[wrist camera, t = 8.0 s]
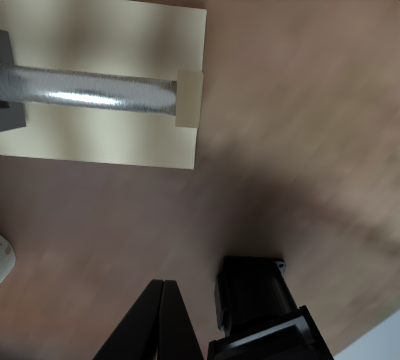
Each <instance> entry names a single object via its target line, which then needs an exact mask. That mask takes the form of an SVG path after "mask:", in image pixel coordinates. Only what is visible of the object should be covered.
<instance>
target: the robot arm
mask: <svg viewBox="0 0 400 360" xmlns="http://www.w3.org/2000/svg"><path fill="white" fill-rule="evenodd" d="M227 261H229V262H227ZM279 264H281V265H279ZM285 267H286V263H285V262H284V260H283V259H270V258H251V257H231V256H227V257H224V258H223V261H222V267H221V274H219V275H218V276H217V279H216V285H215V292H214V295H215V305H216V315H217V324H218V329H219V330H220V331H224V332H225V338H222V339H219V340H217V341H216V340H213V341H211V342H209V348H208V356H207V360H334V359H333V357H332V355H331V353H330V351H329V349H328V347H327V345H326V343H325V341H324V340H323V338H322V336H321V334H320V332H319V330H318V328H317V326H316V324H315V322H314V320H313V319H312V317H311V315H310V313H309V311H308V309H307V307H306V305H304V306H301V307H299V308H300V309H298V308H297V306H296V304H295V301H294V299H293V297H292V295H291V293H290V291H289V289H288V287H287V285H286V283H285V281H284V279H283V274H284V271H285ZM156 354H157V360H204V358H203V355H202V352H201V349H200V347H199V344H198V341H197V338H196V335H195V333H194V330H193V327H192V324H191V321H190V318H189V316H188V313H187V310H186V307H185V304H184V302H183V299H182V296H181V293H180V290H179V288H178V285H177V282H176V281H175V280H165V281H163V280H155V279H153V280H151V282H150V283H149V284H148V286H147V287H146V288H145V290H144V291H143V292H142V294H141V295H140V296H139V298H138V299H137V300H136V302H135V303H134V304H133V306H132V307H131V308H130V310H129V311H128V312H127V314H126V315H125V316H124V318H123V319H122V320H121V322H120V323H119V324H118V326H117V327H116V328H115V330H114V331H113V332H112V334H111V335H110V337H109V338H108V339H107V341H106V342H105V343H104V345H103V346H102V347H101V349H100V350H99V351H98V353H97V354H96V355H95V357H94V358H93V359H92V360H155V359H156Z"/></svg>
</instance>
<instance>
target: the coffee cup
mask: <svg viewBox="0 0 400 360" xmlns="http://www.w3.org/2000/svg"><path fill="white" fill-rule="evenodd" d="M15 260H16V257H15V253H14V250H13V248H12V246H11V245H10V244H9V242H8V241H7V240H6V239H5V238H3V237H2V236H1V235H0V283H1V282H2V281H3V279H4V278H5V277H6V276H7V274H8V273H9V272H10V271H11V270H12V268H13V267H14V265H15Z"/></svg>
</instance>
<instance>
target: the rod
mask: <svg viewBox="0 0 400 360" xmlns="http://www.w3.org/2000/svg"><path fill="white" fill-rule="evenodd" d="M176 97H177V81H174V80H164V79H154V78H143V77H133V76H123V75H113V74H102V73H92V72H82V71H72V70H61V69H51V68H41V67H30V66H20V65H10V64H0V101H11V102H23V103H34V104H45V105H57V106H68V107H79V108H91V109H102V110H113V111H125V112H136V113H147V114H159V115H170V116H176Z"/></svg>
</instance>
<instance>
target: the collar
mask: <svg viewBox="0 0 400 360" xmlns="http://www.w3.org/2000/svg"><path fill="white" fill-rule="evenodd" d="M0 64H10V65H15V64H14V59H13V53H12V48H11V43H10V38H9V33H8V31H4V30H1V29H0ZM22 127H27V126H26V121H25V116H24V111H23V105H22V102H11V101H0V132H4V131H8V130H13V129H18V128H22Z"/></svg>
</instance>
